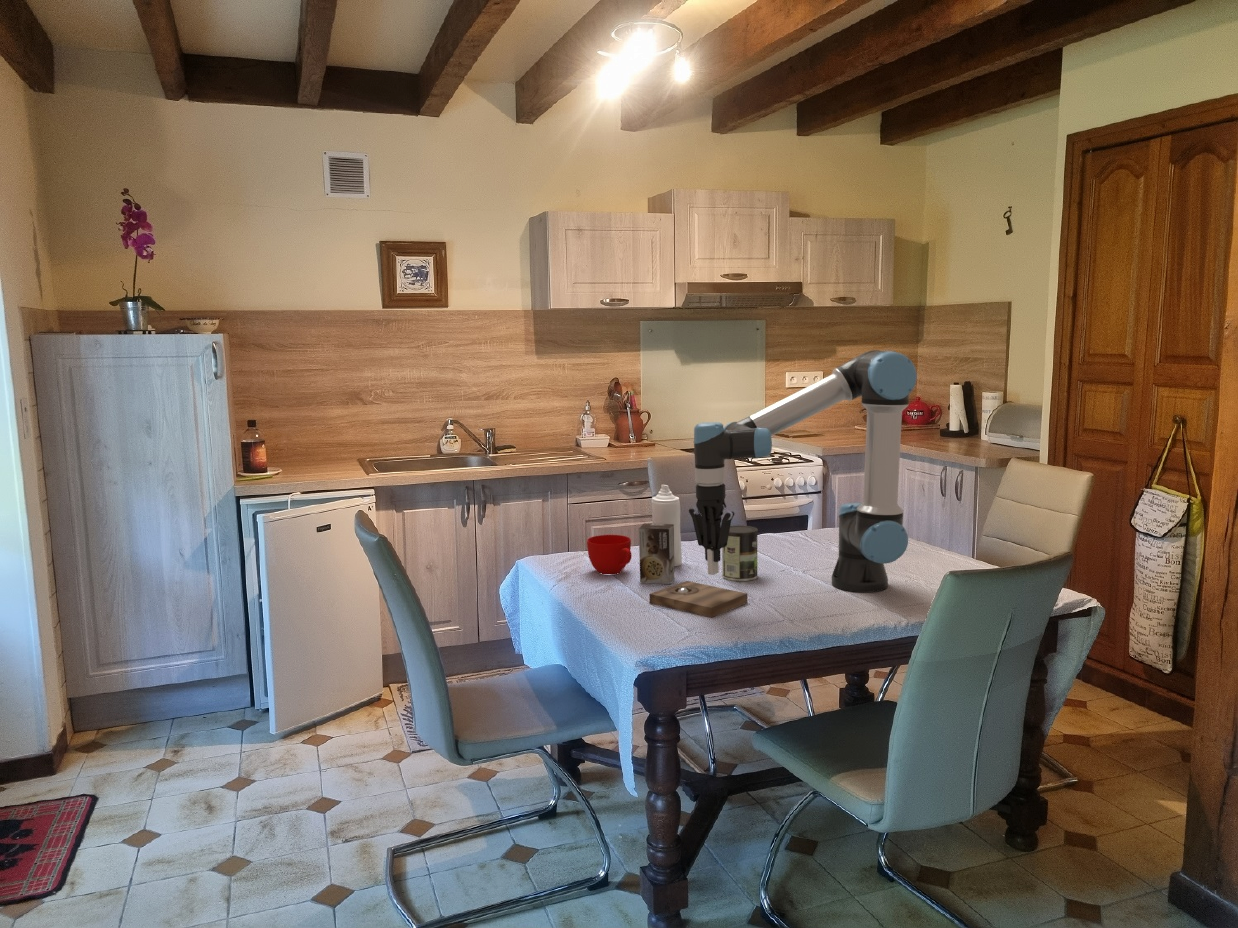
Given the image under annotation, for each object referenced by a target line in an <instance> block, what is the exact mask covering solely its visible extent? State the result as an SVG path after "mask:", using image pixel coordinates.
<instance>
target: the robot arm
mask: <svg viewBox="0 0 1238 928" xmlns="http://www.w3.org/2000/svg"><path fill="white" fill-rule="evenodd" d="M831 372H832V373H831V374H830V375H827V376H826V377H824V378H822V379H820V380H818V381H816V382H814V383H813V384H810V385H808V386H806V387H804V388H802V389H800V390H798V391H795V392H794V393H792V394H790V395H788V396H786V397H784V398H783V399H780V400H779V401H777V402H775V403H773V404H771V405H768V406H766V407H765V408H762V409H760V410H758V411H757V412H754V413H753V414H750V415H749V416H747V417H744V418H743V419H741V420H739V421H733V422H729V423H727V424H726V425H725V426H724V424H723V423H722V422H717V421H715V422H714V421H709V422H700V423H697V424H696V425H695V426H694V428H693V432H694V433H693V451H694V479H695V483H696V485H695V498H696V499H697V500H696V503H695V506H694V507H691V508H689V510H688V513H689V515H690V516H691V518H692V519H691V520H692V523H693V527H694V532H695V536H696V541H697V544H698V546H700V547H703V549H704V558H705V561H707V575H710V576H714V575H716V574H719V569H720V567H719V562H721V560H722V559H721V558H722V557H721V550H722V548H723V547H726V546H727V542H728V536H729V531H730V526H732V525H731V524H732V520H733V518H734V517H735V512H734V511H730V510H729V509H728V508H727V504H726V502H725V501H726V500H725V498H726V495H727V494H726V484H725V481H726V477H725V476H726V471H725V465H726V464H725V460H735V459H736V460H738V459H739V460H740V459H760V458H767V457H769V456H771V453H772V449H773V444H772V443H773V439H772V437H773V436H775V435H776V434H779V433H781V432H783V431H785V430H787V429H788V428H791V427H792V426H793V427H794V425H797V424H799V423H800V422H802V421H804V420H806V419H809V418H810V417H812V416H814V415H818V414H819V413H821V412H822V411H825V410H826V409H827V410H828V409H829V408H830V407H833V406H835V405H837V404H839V403H841V402H842V401H848V402H851V401H853V400H856V399H857V398H860V397H861V406H862V407H863V408H864V409H866V431H865V432H866V433H865V455H864V456H865V457H864V473H863V474H864V476H863V478H864V479H863V496H862V497H863V498H862V502H851V503H843V504H841V505H840V506H839V514H838V557H837V560H836V563H835V566H834V567H833V568H834V569H833V572H832V575H831V585H832V586H833V587H835V588H837V589H839V590H843V591H848V592H856V593H872V592H873V593H874V592H879V591H880V592H881V591H883V590H886V589H888V586H889V577H888V574H887V571H886V567H885V564H886V565H887V564H891V563H894V562H895V561H897V560H898V559H899V558H901V557H902V556H903V555H904V554H905V552H906V551H907V548H908V545H909V536H908V533H907V529H906V528H905V527H904V526H903V524H904V523H903V522H904V510H903V509H902V507H901V506H900V505H899V503H898V496H899V479H900V476H899V475H900V462H901V460H900V459H901V458H900V456H901V440H902V439H901V436H902V421H903V420H902V417H903V411H904V410H905V409H906V408H907V407H909V406H910V405H909V403H910V393H912V392H913V391H914V389H915V387H916V383H917V379H918V377H917V376H918V375H917V369H916V366H915V364H914V363H913V362H912V360H911V359H910V358H909V357H908V356H907V355H905V354H903V353H900V352H897V351H894V350H877V349H876V350H874V349H873V350H868V351H865V352H863V353H860V354H859V355H857V356H856V357H853V358H852V359H850V360H848V361H847V362H844V363H843V364H840V365H839V366H837V367H836V368H834V369H833V370H832V371H831Z"/></svg>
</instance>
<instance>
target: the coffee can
mask: <svg viewBox="0 0 1238 928" xmlns="http://www.w3.org/2000/svg"><path fill="white" fill-rule="evenodd" d="M758 532H759V529H758V528H757V527H756V526H750V525H730V531H729V536H728V542H727V546H726V547H723V548H721V551H722V552H721V554H722V555H721V556H722V557H721V558H722V559H721V561H722V567H721V568H722V569H721V570H722V571H721V572H722V574H721V577H722V578H723V579H724V580H728V581H732V582H748V581H749V582H750V581H754V580H757V578H758V577H759V576H758Z"/></svg>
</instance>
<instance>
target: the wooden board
mask: <svg viewBox="0 0 1238 928" xmlns="http://www.w3.org/2000/svg"><path fill="white" fill-rule="evenodd" d="M680 588H686V589H687V590H688V591H689V592H687V593H679V592H677V591H678V590H679V589H680ZM747 603H748V593H747V592H742V591H738V590H732V589H727V588H723V587H720V586H719V587H717V586H714V585H713V586H712V585H709V584H703V583H699V582H694V581H690V580H685V581H682V582H678V583H676V584H673V585H671V586H668V587H664V588H661V589H659V590H656V591H654V592H651V593H649V604H653V605H656V606H659V607H660V606H662V607H665V608H670V609H673V610H677V611H682V612H686V613H690V614H695V615H699V616H703V617H708V618H714V617H716V616H719V615H721V614H724V613H726V612H728V611H731V610H734V609H736V608H739V607H741V606H743V605H745V604H747Z"/></svg>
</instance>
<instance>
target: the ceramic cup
mask: <svg viewBox="0 0 1238 928" xmlns="http://www.w3.org/2000/svg"><path fill="white" fill-rule="evenodd" d="M631 544H632V538H631V537H629V536H627V535H626V536H625V535H623V534H622V535H621V534H601V535H600V534H599V535H594V536H591V537H589V538H587V540H586V546H587V549H586V550H587V553H588V554H587V555H588V558H589V562H590V564H591V565H592V567H593V568H594V570H595V571H596V572H597V573H598V572H599V573H602V574H616V575H618V574H617V573H619V574H621V573H622V571H623V570H624V569H625V568H626V565H629V563H630V562H631V560H632V556H633V555H632V551H631V546H632V545H631ZM620 572H621V573H620ZM599 573H598V574H599Z"/></svg>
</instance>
